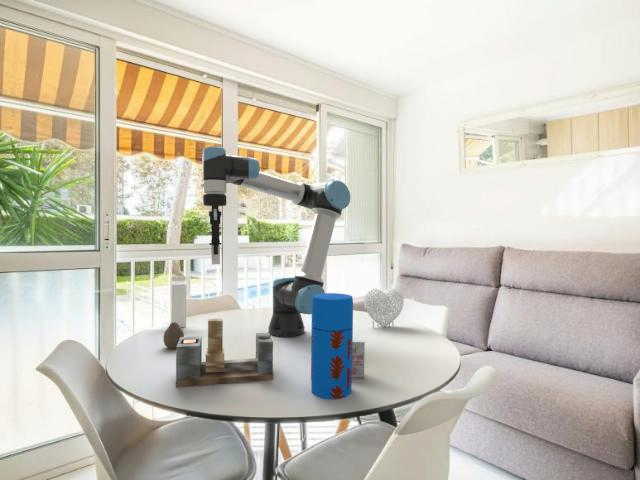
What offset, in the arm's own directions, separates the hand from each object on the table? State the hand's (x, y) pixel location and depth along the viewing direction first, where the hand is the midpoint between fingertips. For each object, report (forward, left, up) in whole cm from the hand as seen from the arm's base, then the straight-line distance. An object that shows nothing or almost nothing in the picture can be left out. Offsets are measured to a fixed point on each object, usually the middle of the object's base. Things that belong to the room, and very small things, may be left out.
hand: (215, 264), depth 129 cm
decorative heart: (-73, -26, -31) cm, 83 cm away
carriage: (0, +20, -29) cm, 35 cm away
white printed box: (-39, +28, -31) cm, 57 cm away
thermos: (-30, +37, -31) cm, 57 cm away
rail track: (-3, +20, -31) cm, 37 cm away
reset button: (+7, +20, -23) cm, 31 cm away
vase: (+15, -12, -31) cm, 36 cm away
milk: (+17, -45, -31) cm, 57 cm away
